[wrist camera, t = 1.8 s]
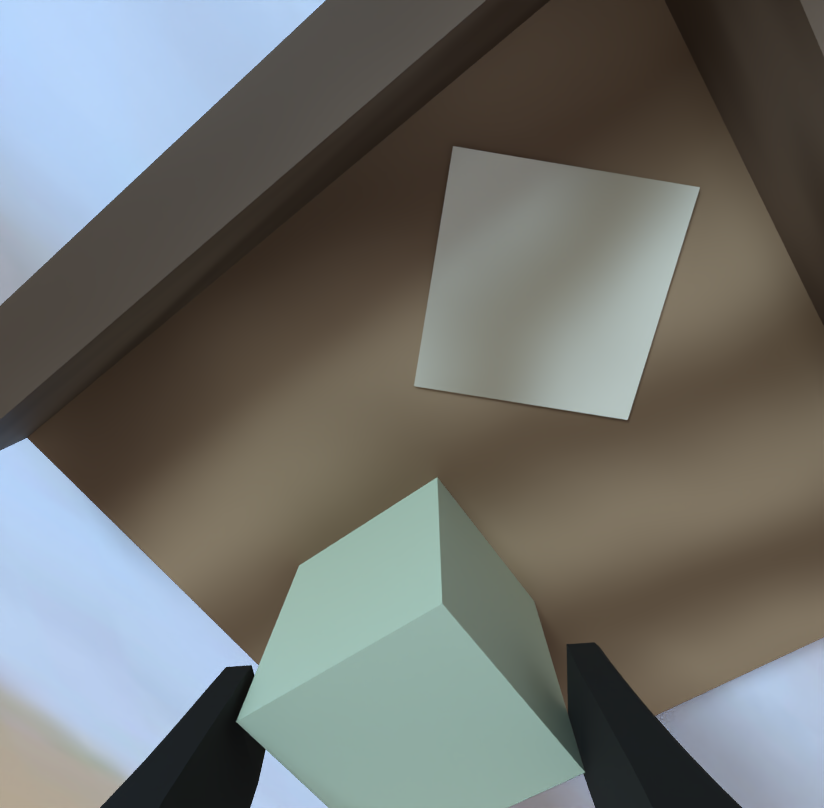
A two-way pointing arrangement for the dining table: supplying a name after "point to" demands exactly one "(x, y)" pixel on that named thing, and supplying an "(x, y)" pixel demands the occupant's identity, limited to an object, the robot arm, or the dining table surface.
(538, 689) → the sage cube
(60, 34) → the dining table surface
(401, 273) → the arena
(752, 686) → the dining table surface
